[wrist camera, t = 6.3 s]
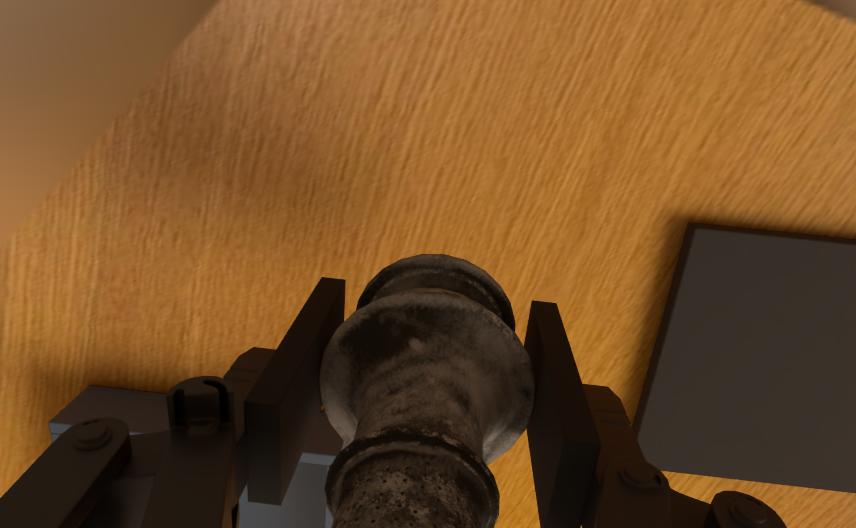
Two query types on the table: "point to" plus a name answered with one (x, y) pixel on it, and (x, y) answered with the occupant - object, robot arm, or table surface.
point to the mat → (756, 361)
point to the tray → (259, 523)
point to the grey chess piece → (424, 397)
